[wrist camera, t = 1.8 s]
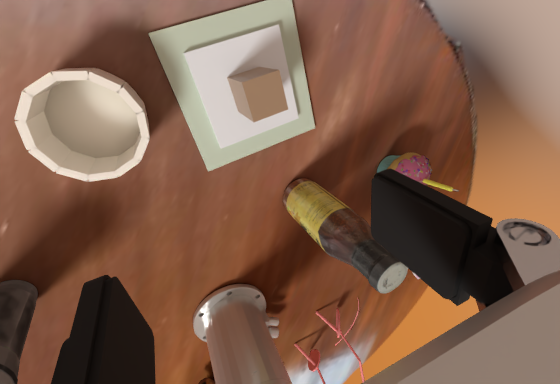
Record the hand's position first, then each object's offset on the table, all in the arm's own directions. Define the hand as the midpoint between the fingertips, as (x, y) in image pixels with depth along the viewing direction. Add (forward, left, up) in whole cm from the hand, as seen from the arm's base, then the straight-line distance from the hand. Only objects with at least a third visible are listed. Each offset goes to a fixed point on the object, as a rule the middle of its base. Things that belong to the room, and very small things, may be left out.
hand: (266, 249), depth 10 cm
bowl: (+7, +4, -27) cm, 29 cm away
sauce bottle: (-21, +4, -28) cm, 35 cm away
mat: (-6, -6, -27) cm, 28 cm away
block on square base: (-6, -6, -27) cm, 28 cm away
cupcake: (-35, -6, -28) cm, 44 cm away
